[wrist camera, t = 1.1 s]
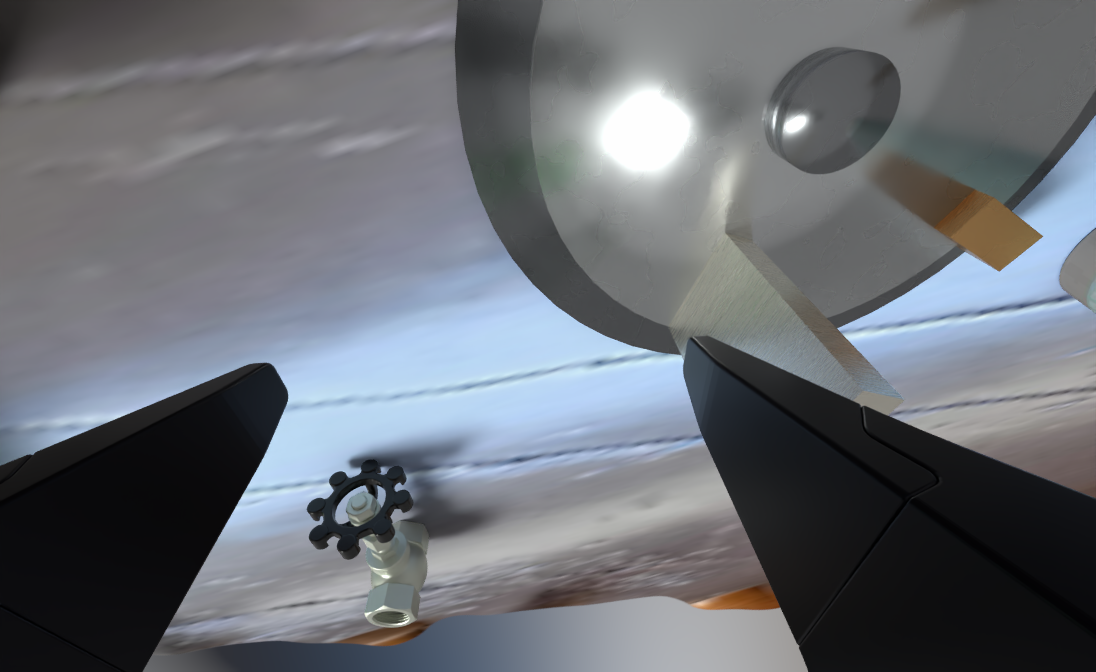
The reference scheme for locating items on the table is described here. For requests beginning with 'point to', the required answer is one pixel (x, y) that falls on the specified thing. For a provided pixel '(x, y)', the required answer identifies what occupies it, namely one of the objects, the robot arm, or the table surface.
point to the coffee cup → (1081, 272)
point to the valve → (377, 541)
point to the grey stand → (795, 154)
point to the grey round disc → (516, 195)
